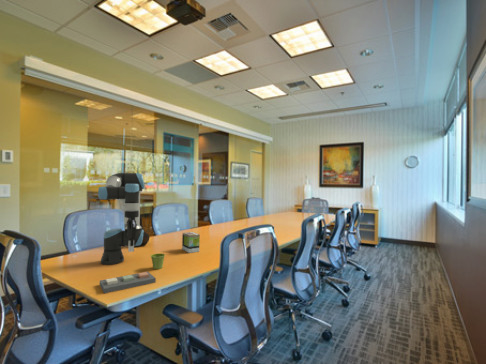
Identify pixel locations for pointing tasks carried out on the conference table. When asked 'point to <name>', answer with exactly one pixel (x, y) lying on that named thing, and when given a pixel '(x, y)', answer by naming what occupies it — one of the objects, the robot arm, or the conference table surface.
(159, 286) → the conference table surface
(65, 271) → the conference table surface
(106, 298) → the conference table surface
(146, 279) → the button board
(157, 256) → the plant pot
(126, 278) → the sage button
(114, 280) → the cream button
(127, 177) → the robot arm
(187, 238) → the tea box
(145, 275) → the terracotta button
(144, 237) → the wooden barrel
